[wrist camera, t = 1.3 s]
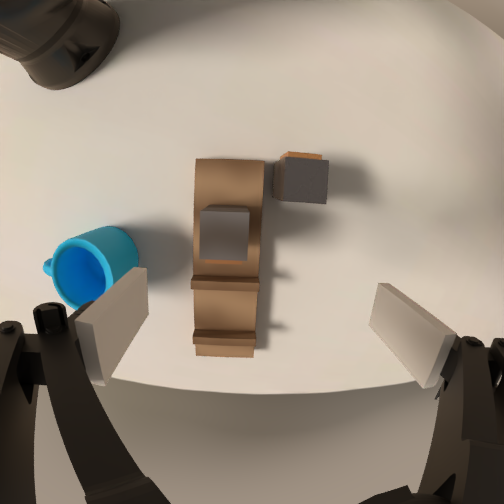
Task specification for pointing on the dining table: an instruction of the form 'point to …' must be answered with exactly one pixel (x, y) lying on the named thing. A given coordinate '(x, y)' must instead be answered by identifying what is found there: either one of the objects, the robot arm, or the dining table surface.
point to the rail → (227, 279)
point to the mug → (91, 264)
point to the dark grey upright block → (301, 178)
